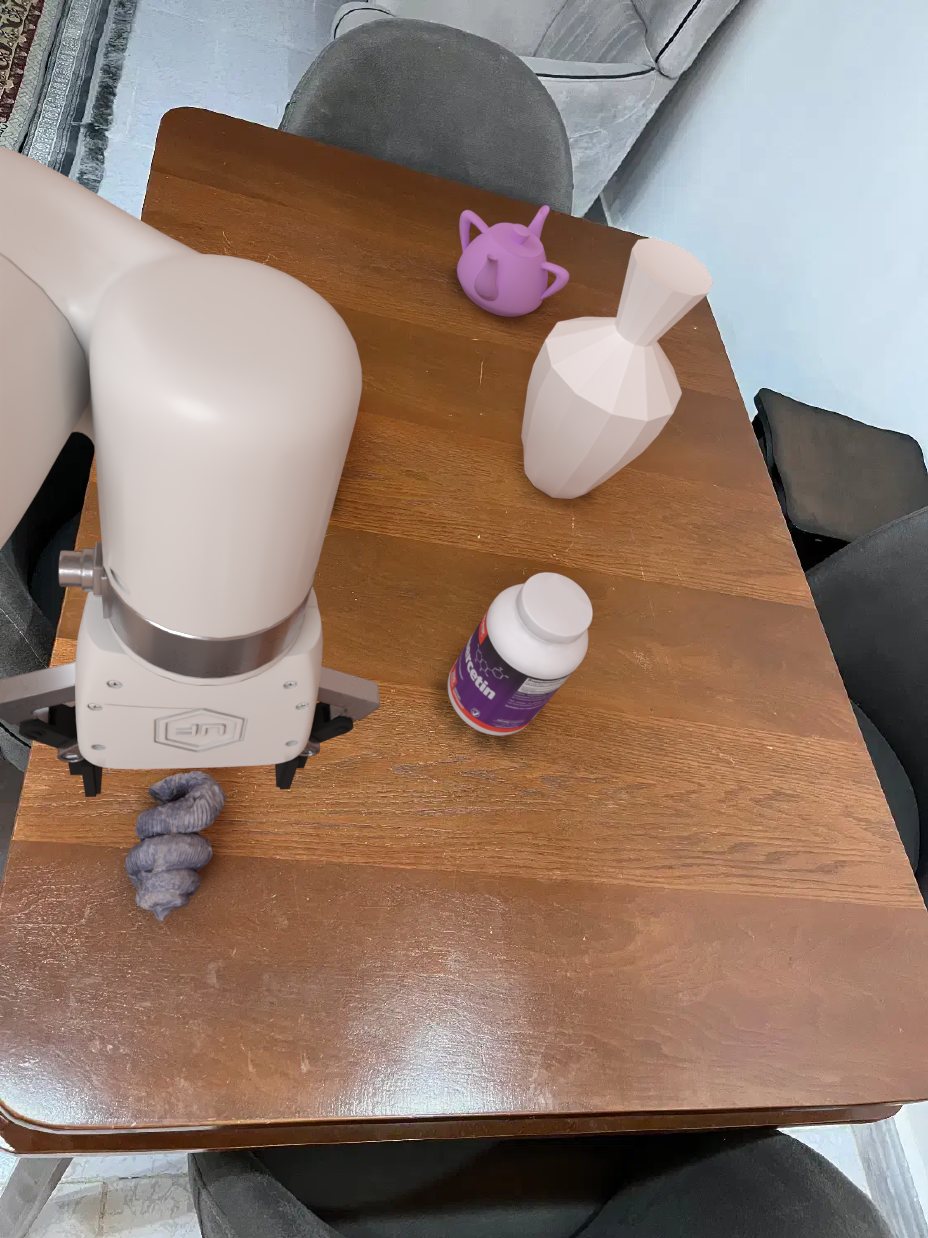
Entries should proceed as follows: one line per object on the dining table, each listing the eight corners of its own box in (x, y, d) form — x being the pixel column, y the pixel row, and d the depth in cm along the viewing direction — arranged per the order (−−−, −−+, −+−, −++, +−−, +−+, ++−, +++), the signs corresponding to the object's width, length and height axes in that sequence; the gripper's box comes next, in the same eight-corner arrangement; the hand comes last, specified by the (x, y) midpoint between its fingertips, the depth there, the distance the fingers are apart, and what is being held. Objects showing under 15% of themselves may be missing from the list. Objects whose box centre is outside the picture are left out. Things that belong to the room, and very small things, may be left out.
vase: (613, 537, 87) (752, 345, 68) (485, 492, 85) (591, 279, 65) (618, 447, 96) (742, 254, 76) (502, 404, 94) (600, 193, 74)
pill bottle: (434, 658, 72) (491, 556, 60) (519, 654, 75) (588, 556, 63) (456, 745, 68) (522, 652, 56) (544, 737, 71) (623, 648, 59)
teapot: (464, 321, 100) (489, 255, 93) (440, 249, 107) (461, 183, 100) (552, 332, 105) (582, 271, 98) (524, 263, 112) (550, 201, 105)
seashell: (177, 788, 60) (155, 935, 54) (128, 761, 56) (98, 917, 50) (243, 776, 58) (226, 925, 53) (197, 747, 54) (174, 906, 49)
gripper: (-67, 664, 27) (3, 844, 41) (438, 669, 33) (354, 825, 46) (-32, 491, 31) (21, 707, 45) (413, 522, 37) (343, 705, 50)
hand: (191, 767), depth 46 cm, fingers open, 9 cm apart
